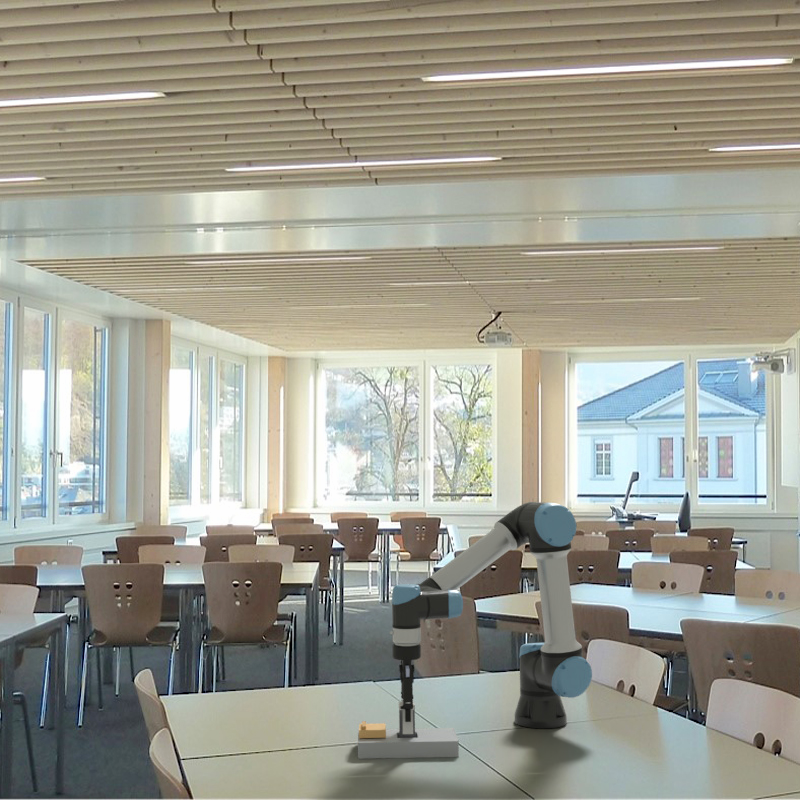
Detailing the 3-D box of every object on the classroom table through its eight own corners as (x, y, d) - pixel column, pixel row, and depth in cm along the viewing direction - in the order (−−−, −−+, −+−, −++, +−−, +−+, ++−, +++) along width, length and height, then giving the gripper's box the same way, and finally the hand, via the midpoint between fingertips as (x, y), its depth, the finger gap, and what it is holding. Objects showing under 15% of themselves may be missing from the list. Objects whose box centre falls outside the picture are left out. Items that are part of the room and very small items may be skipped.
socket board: (454, 742, 293) (454, 727, 293) (458, 756, 279) (458, 741, 279) (358, 744, 292) (358, 729, 293) (357, 758, 278) (357, 742, 279)
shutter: (385, 731, 289) (385, 720, 290) (385, 737, 282) (385, 726, 283) (359, 731, 289) (359, 720, 289) (359, 738, 282) (359, 727, 282)
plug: (414, 748, 288) (414, 701, 289) (415, 752, 284) (414, 705, 285) (399, 748, 288) (398, 702, 289) (399, 752, 284) (399, 705, 285)
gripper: (391, 636, 298) (392, 719, 297) (393, 650, 276) (394, 739, 275) (418, 636, 299) (419, 718, 297) (422, 650, 276) (423, 739, 275)
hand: (407, 729), depth 286 cm, fingers open, 9 cm apart
